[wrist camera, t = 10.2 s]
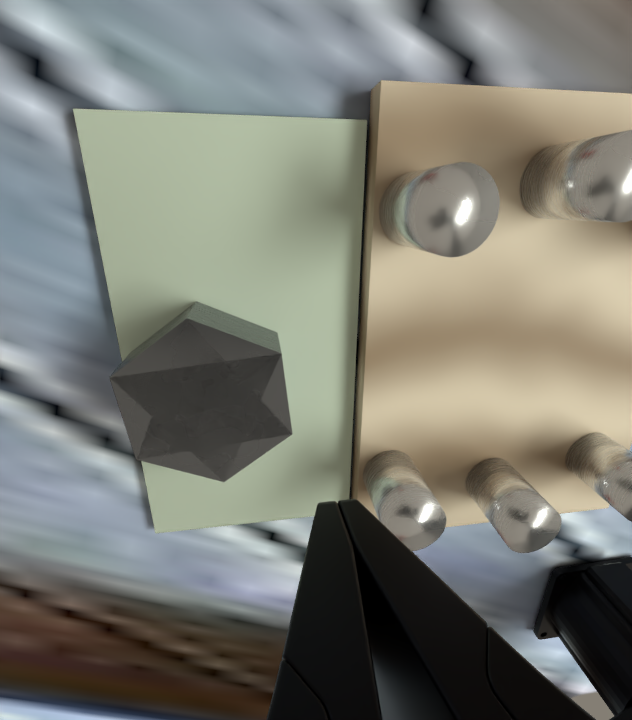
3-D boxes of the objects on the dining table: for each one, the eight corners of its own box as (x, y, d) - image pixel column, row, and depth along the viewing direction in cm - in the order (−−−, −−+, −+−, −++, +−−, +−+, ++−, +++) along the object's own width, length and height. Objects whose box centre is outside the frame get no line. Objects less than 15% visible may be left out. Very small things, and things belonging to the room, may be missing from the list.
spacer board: (591, 493, 24) (608, 507, 22) (349, 520, 21) (355, 538, 20) (721, 107, 16) (756, 100, 15) (371, 90, 14) (381, 80, 13)
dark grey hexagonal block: (291, 436, 18) (297, 469, 16) (161, 457, 18) (147, 495, 15) (271, 291, 16) (275, 306, 13) (117, 310, 15) (93, 330, 13)
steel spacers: (597, 486, 22) (658, 535, 18) (360, 512, 20) (381, 572, 16) (712, 149, 15) (833, 135, 12) (383, 139, 14) (424, 118, 10)
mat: (346, 507, 21) (348, 512, 21) (157, 527, 20) (155, 533, 19) (364, 122, 14) (367, 119, 14) (78, 111, 13) (73, 108, 13)
